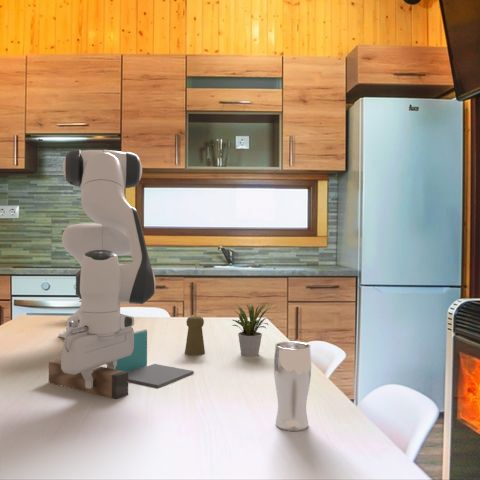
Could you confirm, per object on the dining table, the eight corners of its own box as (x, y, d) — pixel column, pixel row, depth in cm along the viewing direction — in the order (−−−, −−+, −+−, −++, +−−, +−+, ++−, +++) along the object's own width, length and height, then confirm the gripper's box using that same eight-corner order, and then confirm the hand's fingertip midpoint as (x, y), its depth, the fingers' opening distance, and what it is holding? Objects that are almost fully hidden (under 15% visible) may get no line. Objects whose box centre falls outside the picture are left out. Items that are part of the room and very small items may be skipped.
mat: (116, 378, 120) (116, 376, 120) (154, 366, 132) (154, 363, 132) (158, 387, 113) (158, 385, 113) (193, 373, 125) (193, 370, 125)
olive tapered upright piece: (201, 355, 143) (202, 318, 143) (182, 354, 145) (182, 317, 144) (207, 351, 149) (207, 315, 149) (188, 350, 150) (188, 314, 150)
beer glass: (270, 418, 95) (271, 341, 95) (306, 417, 95) (306, 341, 95) (276, 432, 88) (277, 349, 88) (314, 432, 88) (315, 349, 88)
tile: (107, 375, 123) (107, 335, 122) (140, 364, 133) (140, 328, 133) (115, 377, 121) (115, 337, 121) (147, 366, 131) (148, 329, 131)
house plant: (283, 351, 150) (283, 298, 150) (271, 362, 137) (271, 304, 137) (239, 347, 155) (239, 295, 154) (223, 357, 142) (224, 301, 141)
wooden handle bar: (48, 382, 116) (48, 361, 116) (60, 379, 119) (60, 358, 119) (116, 399, 105) (116, 376, 105) (128, 394, 108) (128, 372, 108)
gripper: (77, 332, 99) (76, 400, 99) (138, 317, 118) (138, 374, 118) (54, 329, 102) (53, 395, 102) (117, 315, 120) (117, 371, 120)
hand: (99, 384), depth 110 cm, fingers open, 4 cm apart
